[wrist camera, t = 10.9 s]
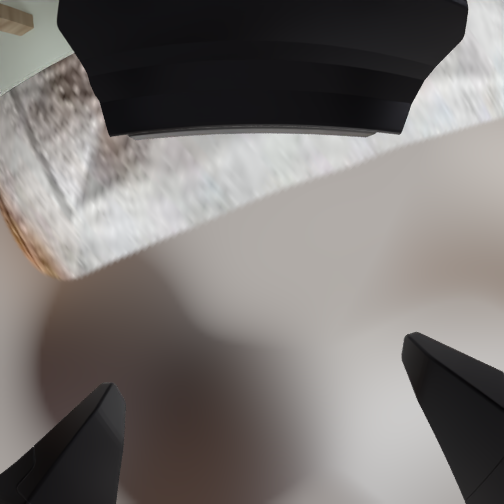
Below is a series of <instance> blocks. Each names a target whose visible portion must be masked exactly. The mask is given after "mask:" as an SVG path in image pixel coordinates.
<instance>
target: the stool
mask: <svg viewBox="0 0 504 504" xmlns="http://www.w3.org/2000/svg"><path fill="white" fill-rule="evenodd" d="M33 28H34V24H33V15H31V14H29V13H26V12H23V11H21V10H18V9H15V8H13V7H10V6H7V5H4V4H1V3H0V31H2V32H6V33H10V34H14V35H18V36H22V35H24V34H25V33H27V32H28V31H30V30H32V29H33Z"/></svg>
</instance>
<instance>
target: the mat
mask: <svg viewBox="0 0 504 504" xmlns="http://www.w3.org/2000/svg"><path fill="white" fill-rule="evenodd" d="M0 3H1V4H4V5H7V6H10V7H13V8H15V9H18V10H21V11H23V12H26V13H29V14H31V15H33V24H34V28H33V29H32V30H30V31H28V32H27V33H25V34H24V35H22V36H18V35H14V34H10V33H6V32H2V31H0V96H2V95H3V94H5V93H6V92H8V91H9V90H11V89H12V88H14V87H15V86H17V85H18V84H20V83H22V82H23V81H25V80H26V79H28V78H30V77H31V76H33V75H35V74H36V73H38V72H40V71H42V70H43V69H45V68H47V67H49V66H51V65H52V64H54V63H56V62H58V61H60V60H62V59H64V58H66V57H68V56H70V55H72V54H74V51H73V50H72V48H71V47H70V45H69V44H68V42H67V41H66V39H65V38H64V36H63V35H62V34H61V32H60V31H59V29H58V27H57V12H58V4H59V0H0Z"/></svg>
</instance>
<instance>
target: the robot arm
mask: <svg viewBox="0 0 504 504" xmlns="http://www.w3.org/2000/svg"><path fill="white" fill-rule="evenodd" d="M467 15H468V4H467V0H59V4H58V12H57V27H58V29H59V31H60V32H61V34H62V35H63V36H64V38H65V39H66V41H67V42H68V44H69V45H70V47H71V48H72V50H73V51H74V53H75V54H76V56H77V57H78V59H79V60H80V62H81V63H82V65H83V67H84V68H85V70H86V72H87V74H88V78H89V81H90V85H91V87H92V89H93V91H94V94H95V96H96V97H97V98H98V100H99V102H100V105H101V108H102V112H103V116H104V119H105V123H106V127H107V130H108V133H109V136H110V137H112V136H120V135H128V136H129V137H131V138H133V139H135V140H141V139H154V138H165V137H178V136H192V135H211V134H242V133H289V134H319V135H338V136H354V137H368V136H371V135H373V134H375V133H376V132H381V133H389V134H398V135H400V134H401V132H402V130H403V127H404V124H405V122H406V119H407V116H408V113H409V110H410V107H411V104H412V102H413V100H414V99H415V97H416V95H417V93H418V91H419V89H420V88H421V86H422V84H423V82H424V80H425V79H426V78H427V77H428V75H429V74H430V73H431V72H432V71H433V69H434V68H435V67H436V66H437V65H438V64H439V63H440V62H441V61H442V60H443V59H444V58H445V57H446V56H447V55H448V54H449V53H450V52H451V51H452V50H453V49H454V48H455V47H456V46H457V45H458V44H459V43H460V42H461V40H462V39H463V37H464V34H465V29H466V22H467ZM402 362H403V364H404V366H405V369H406V372H407V374H408V377H409V380H410V382H411V385H412V387H413V390H414V393H415V395H416V398H417V400H418V402H419V404H420V406H421V408H422V410H423V412H424V414H425V416H426V418H427V420H428V422H429V424H430V426H431V428H432V430H433V432H434V434H435V436H436V438H437V440H438V442H439V444H440V446H441V449H442V451H443V453H444V455H445V457H446V459H447V462H448V464H449V466H450V468H451V470H452V473H453V475H454V477H455V479H456V482H457V484H458V486H459V488H460V491H461V493H462V495H463V498H464V500H465V503H466V504H504V373H503V372H502V371H500V370H498V369H496V368H494V367H492V366H489V365H487V364H485V363H483V362H481V361H479V360H476V359H474V358H472V357H470V356H468V355H466V354H464V353H461V352H459V351H457V350H455V349H453V348H451V347H449V346H447V345H445V344H442V343H440V342H438V341H436V340H434V339H432V338H430V337H428V336H425V335H423V334H421V333H419V332H414V333H411V334H407V335H406V336H405V338H404V343H403V350H402ZM125 411H126V404H125V400H124V398H123V396H122V395H121V393H120V391H119V390H118V388H117V386H116V385H115V384H114V383H102V384H100V385H99V386H98V387H97V388H96V389H95V390H94V391H93V392H92V393H90V394H89V395H88V396H87V397H86V398H85V399H84V400H83V401H82V402H81V403H80V404H79V405H77V407H75V408H74V409H73V410H72V411H71V412H70V413H69V414H68V415H67V416H66V417H64V418H63V419H62V420H61V421H60V422H59V423H58V424H57V425H56V426H55V427H54V428H53V429H52V430H50V431H49V432H48V433H47V434H46V435H45V436H44V437H43V438H42V439H41V440H40V441H39V442H37V443H36V444H35V445H34V447H32V448H31V449H30V450H29V451H28V452H27V453H26V454H24V456H22V457H21V458H20V459H19V460H18V461H17V462H15V463H14V464H13V465H12V466H10V467H9V468H8V469H7V470H5V471H4V472H3V473H1V474H0V504H116V499H117V491H118V482H119V475H120V468H121V461H122V453H123V445H124V427H125Z"/></svg>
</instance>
